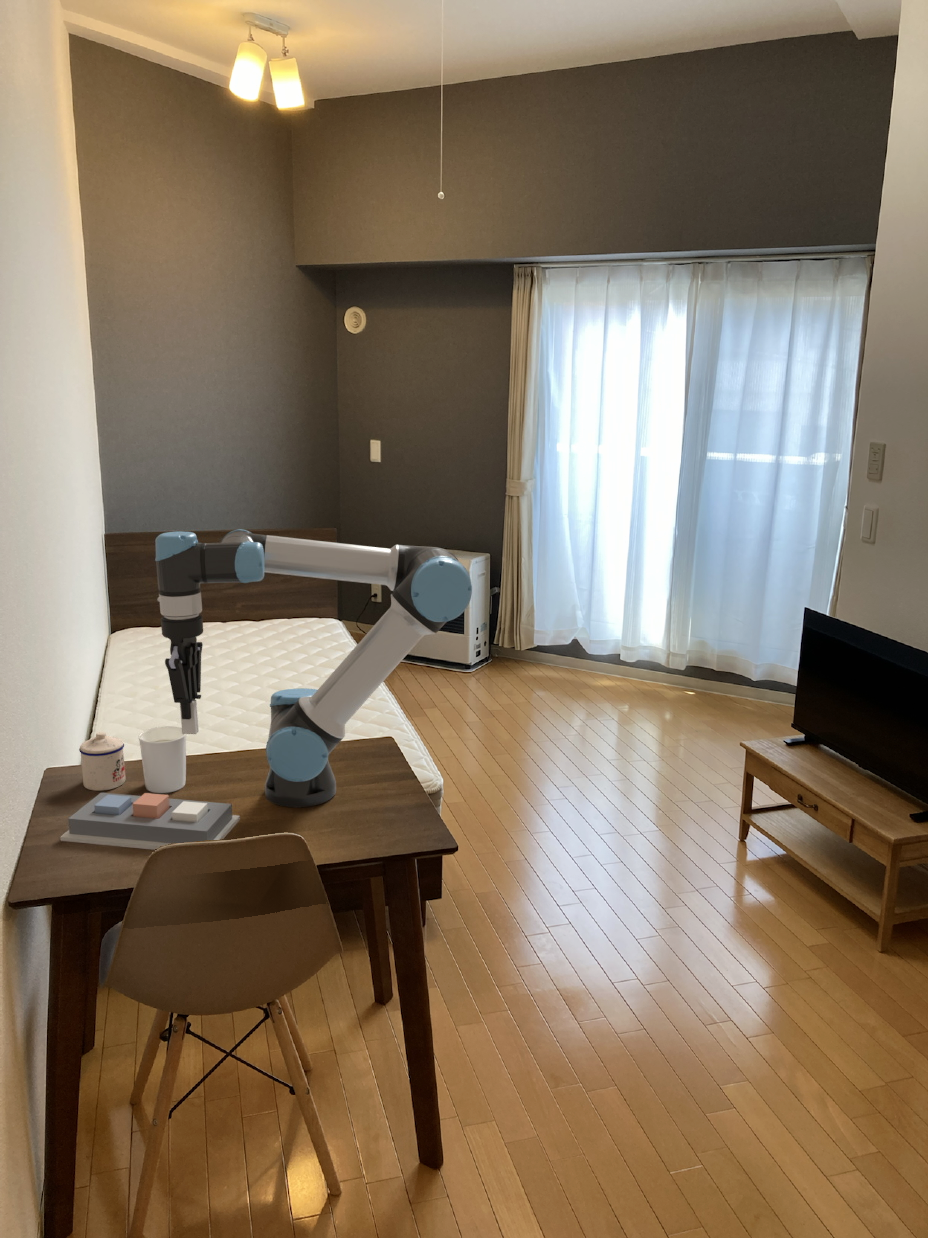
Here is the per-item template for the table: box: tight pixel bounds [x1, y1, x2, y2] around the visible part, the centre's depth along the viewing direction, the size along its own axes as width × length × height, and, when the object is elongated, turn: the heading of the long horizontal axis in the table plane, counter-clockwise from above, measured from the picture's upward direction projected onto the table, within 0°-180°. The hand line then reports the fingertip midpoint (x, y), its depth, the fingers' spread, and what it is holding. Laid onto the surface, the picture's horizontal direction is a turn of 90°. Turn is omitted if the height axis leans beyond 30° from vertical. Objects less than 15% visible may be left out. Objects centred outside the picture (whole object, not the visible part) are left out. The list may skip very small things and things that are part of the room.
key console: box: [60, 792, 241, 851], centre depth 182 cm, size 30×15×4 cm, turn 81°
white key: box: [172, 801, 208, 822], centre depth 181 cm, size 5×5×3 cm
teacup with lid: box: [78, 731, 126, 792], centre depth 203 cm, size 12×9×12 cm
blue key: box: [94, 795, 132, 815], centre depth 183 cm, size 5×5×3 cm
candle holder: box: [138, 725, 187, 794], centre depth 201 cm, size 10×10×12 cm
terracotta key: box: [133, 792, 170, 819], centre depth 181 cm, size 5×5×3 cm
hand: (190, 732), depth 180 cm, fingers closed
